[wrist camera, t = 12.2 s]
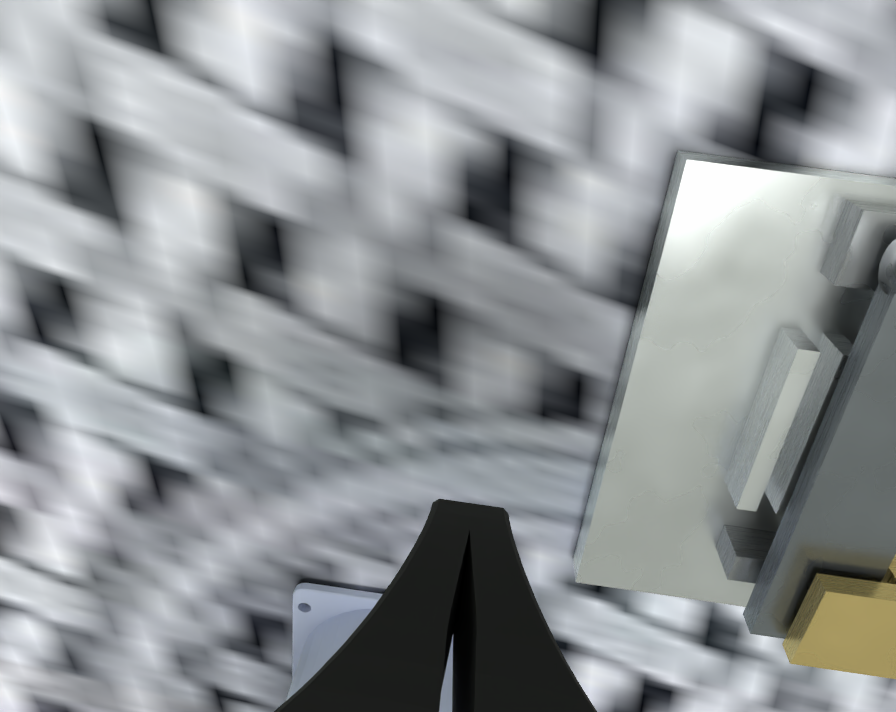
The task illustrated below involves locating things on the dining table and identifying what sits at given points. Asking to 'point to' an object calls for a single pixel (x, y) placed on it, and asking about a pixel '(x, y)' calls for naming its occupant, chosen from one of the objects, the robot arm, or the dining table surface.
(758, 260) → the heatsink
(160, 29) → the dining table surface
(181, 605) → the dining table surface
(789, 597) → the grey metal flat bar
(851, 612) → the block
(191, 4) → the dining table surface
